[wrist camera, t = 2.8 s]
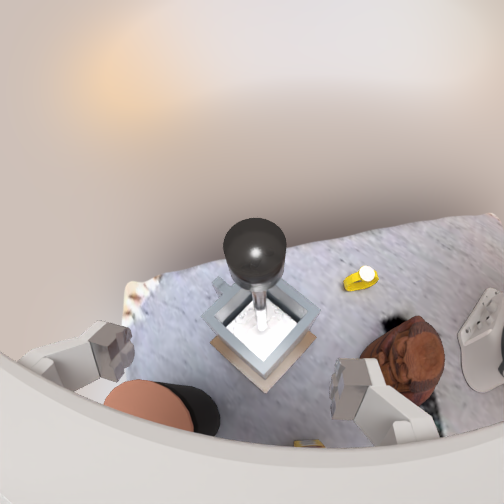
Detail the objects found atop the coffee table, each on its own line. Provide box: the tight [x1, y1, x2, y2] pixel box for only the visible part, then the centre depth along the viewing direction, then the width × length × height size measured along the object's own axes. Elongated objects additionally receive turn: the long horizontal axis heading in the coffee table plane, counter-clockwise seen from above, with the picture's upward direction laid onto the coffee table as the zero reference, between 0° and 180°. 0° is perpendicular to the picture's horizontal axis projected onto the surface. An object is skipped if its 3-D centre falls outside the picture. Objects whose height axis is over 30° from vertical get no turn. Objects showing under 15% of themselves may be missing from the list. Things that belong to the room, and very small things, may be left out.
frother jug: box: [201, 276, 321, 394], centre depth 37 cm, size 12×14×17 cm
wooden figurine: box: [360, 316, 445, 406], centre depth 33 cm, size 12×6×18 cm, turn 6°
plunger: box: [223, 218, 297, 361], centre depth 26 cm, size 6×6×21 cm
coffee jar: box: [103, 379, 220, 437], centre depth 31 cm, size 11×11×18 cm
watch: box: [343, 266, 379, 291], centre depth 46 cm, size 6×3×6 cm, turn 97°
